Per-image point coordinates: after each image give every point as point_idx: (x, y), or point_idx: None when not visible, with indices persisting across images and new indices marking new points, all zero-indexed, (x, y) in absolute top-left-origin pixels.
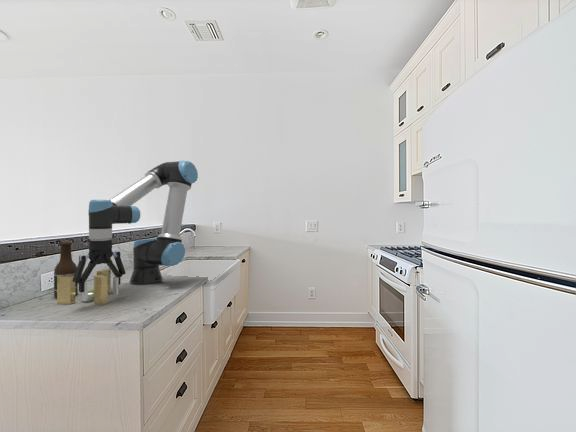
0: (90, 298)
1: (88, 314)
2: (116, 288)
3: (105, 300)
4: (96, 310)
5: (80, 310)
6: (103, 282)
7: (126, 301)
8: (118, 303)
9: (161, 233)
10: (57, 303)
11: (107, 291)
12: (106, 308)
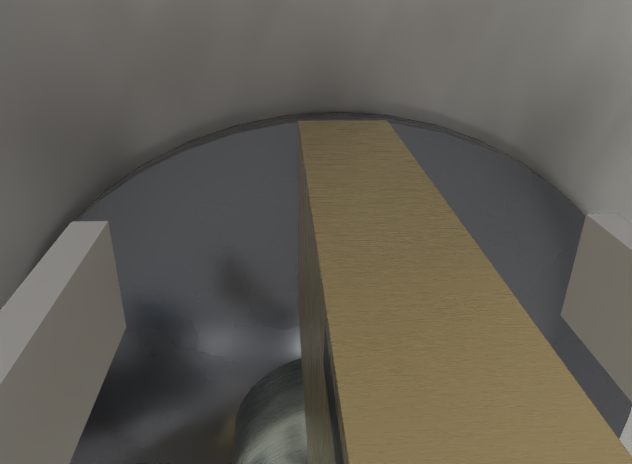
0: None
1: (589, 16)
2: (73, 272)
3: (334, 137)
4: (444, 98)
5: None
6: (467, 324)
7: (3, 145)
8: (123, 150)
9: None
10: None
11: (309, 194)
12: (331, 66)
